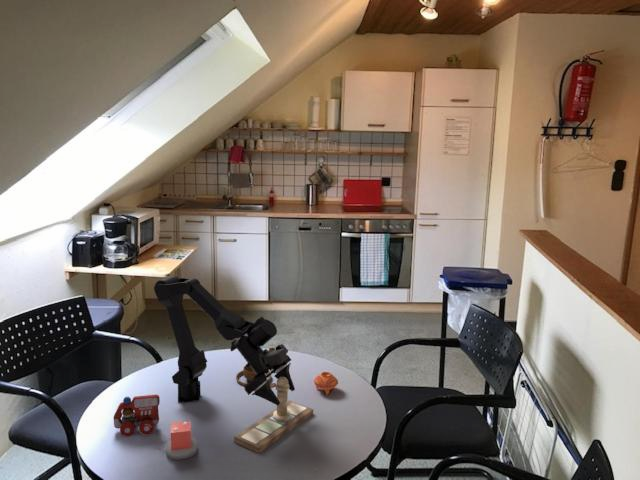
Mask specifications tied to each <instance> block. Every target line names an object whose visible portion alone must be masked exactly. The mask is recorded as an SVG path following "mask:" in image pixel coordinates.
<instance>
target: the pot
mask: <svg viewBox="0 0 640 480" xmlns="http://www.w3.org/2000/svg"><path fill="white" fill-rule="evenodd" d="M313 383H314V385H315V388H316V390H319V389H320V390H321V391H325V395H326V396H328V395H329V393H330V391H331V390H333V389H334V388H336V386H337V385H338V384H339V379H337V378H336V376H334V375H333V373H331V372H330V371H323V372H321V373H320V374H318V375H316V376H315V378H314V380H313Z"/></svg>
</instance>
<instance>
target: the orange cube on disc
mask: <svg viewBox="0 0 640 480" xmlns="http://www.w3.org/2000/svg"><path fill="white" fill-rule="evenodd" d="M191 431H192V428H191V420H187V421H176V422H170V438H169V440H168V441H166V443H165V455H166V457H167V458H169V459H171V460H176V461H181V460H187V459H190V458H191V457H193V456H194V455H195V454H196V453H197V451H198V444H197V442H198V441H197V439H196V438H195V437H193V436H191V434H192V433H191Z"/></svg>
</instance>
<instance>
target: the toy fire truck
mask: <svg viewBox="0 0 640 480" xmlns="http://www.w3.org/2000/svg"><path fill="white" fill-rule="evenodd" d="M160 402H161V400H160V395H158V394H148V395H139V396H134V397H133V398H132V399H131V397H130V396H125V397H124V398H123V401H122V402H120V403H119V405H118V407H117V408H116V411H115V413H114V415H113V425H114V426H113V427H114V428H115V429H119V431H120V434H121V435H122V436H124V437H131V436H133V434H134V433H135V431H136V427H138V431H139V433H140V434H142V435H144V436H145V435H146V436H149V435H151V434H152V433H153V432H154V430H155V425H157V424H159V423H160V417H159V415H160V414H159V406H160Z"/></svg>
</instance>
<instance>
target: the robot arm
mask: <svg viewBox="0 0 640 480" xmlns="http://www.w3.org/2000/svg"><path fill="white" fill-rule="evenodd" d="M153 291H154V293H155V296H156V297H157V300H158V302H159V303H160V304H161V305H162V306H163V307H164V308H165V309H166V311H167V315H168V318H169V322H170V326H171V329H172V332H173V334H174V338H175V341H176V345H177V348H178V352H179V353H178V359H177V366H178V371H176V373H174V374H173V375H172V376H171V378H172V381H173V384H176V385H177V403H178V404H179V403H180V404H181V403H188V402H190V403H191V402H199V401H200V397H201V380H199V377H201V376H203V373H204V372H205V371H206V369H207V366H208V365H207V362H208V360H207V358H206V354H205V351H204V350H202V349H201V350H200V349H198V348H197V346H196V344H195V341H194V338H193V336H192V332H191V329H190V325H189V321H188V317H187V315H186V312H185V308H184V306H183V300H184V295H187V296H188V297H189V298H190V299H191V300H192V301H193V302H194V303H196V305H197V306H198V307H200V308H201V310H202V311H203V312H204V313H205V314H206V315H208V317H210V319H211V320H212V321H213V322H214V324H215V325H214V326H215V328H216V330H217V332H218V333H219V334H220V335H221V337H222V338H223V339H224V340H226V341H231V342H230V344H231V345H230V352H233V351H236V350H237V351H238V352H239V353H240V354H241V356H242V357H243V358H244V360H245V361H246V364H245V366H247V368H248V367H249V366H250V367H251V368H252V369H253V371H254V372H255V373H256V375H255V376H254V378H253V379H252V380H251V381H248V382H246V383H247V384H246V385H245V386H244V392H245V393H246V394H247V395H248V396H249V395H251V396H254V395H255V396H257V397H259V398H262V399H264V400H266V401H268V402H270V403H272V404H274V405H276V406H277V405H279V404H280V402H279V400H278V398H277V394H276V393H275V392H274V391H273V389H272V387H270V384H271V380H269V381H268V382H266V381H267V380H268V379H267V378H268V377H269V376H270V375H271V376H272V375H273V374H274V376H273V377H275V378H276V379H277V380H278V379H279V378H280V377H285V378H287V380H288V384H289V390H290V391H291V392H294V391H296V389H295V384H294V383H293V380H292V377H291V376H292V375H291V373H290V366H291V361H292V359H291V357H290V356H289V354H288V352H289V350H288V349H287V347H286V346H285V345H283V343H281V344H278V345H276V346H275V350H274V351H273V352H269V349H267V348H265V349H263V348H262V347H263V346H265V345H266V344H268V343H269V341H271V340H272V339H273V338H274V337H275V336H276V335H277V333H278V329H277V327H276V324H274V322H272V321H271V320H269V319H265V318H264V317H263V316H261V317H258V318H257V319H256V320H255V322H252V321H249V320H246V319H245V318H243V316H241V315H240V314H239V313H237V312H235V311H232V310H229V309H227V308H226V307H225V306H224V305H223V304H222V303H220V301H218V300H217V299H216V297H214V295H212V294H211V293H210V292H209V291H208V290H207V289H206V288H205V287H204V286H203V285H202V284H201V282H200V281H199V279H197V278H194V277H193V278H189V277H178V276H177V275H171V276H168V277H164V278H163V279H160V280H158V281H156V282H155V284H154V286H153ZM265 373H266V375H265ZM267 374H268V375H267Z"/></svg>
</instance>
